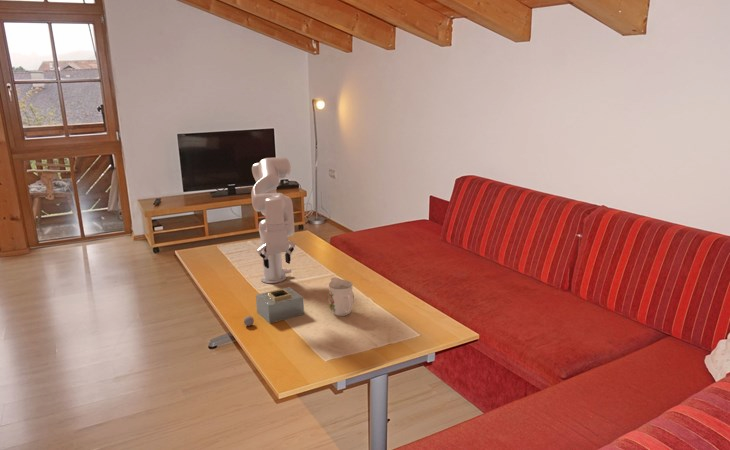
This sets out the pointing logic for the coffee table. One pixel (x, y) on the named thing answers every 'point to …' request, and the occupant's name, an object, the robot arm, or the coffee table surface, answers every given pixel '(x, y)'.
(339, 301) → the pitcher
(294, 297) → the grey box with opening
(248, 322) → the bead
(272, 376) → the coffee table surface
